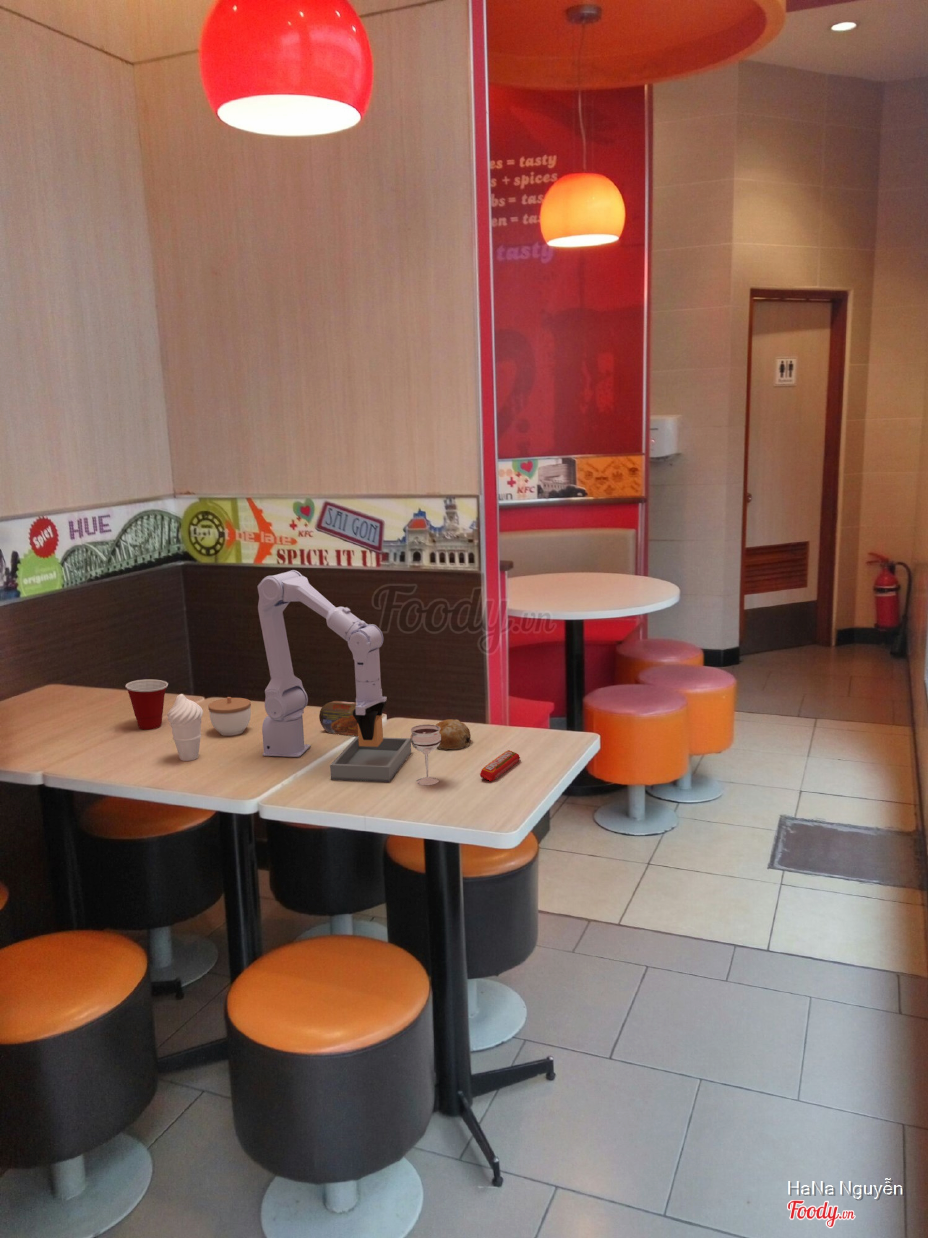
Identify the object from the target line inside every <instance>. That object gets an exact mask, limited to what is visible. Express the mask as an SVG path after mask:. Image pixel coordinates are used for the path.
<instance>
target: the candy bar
mask: <svg viewBox="0 0 928 1238" xmlns="http://www.w3.org/2000/svg"><path fill="white" fill-rule="evenodd" d="M520 759H521V757H520V754H518V753H517V752H515V751H512V750H510V749H509V750H508V749H507V750H506V751H504V752H503V753H502V754H500V755H499V756H497V757H496V758H495V759H493V760H492V761H491V762H489V763H488V764H486V765H485V766H483V768H482V769H481V770H480V773H479V775H480V777H481V778H482V779H484V780H487V781H488V780H489V782H494V781H496V780H497V779H498V778H499V776H500V775H501V774H502V775H504V774H505V773H506V772H507V771H509V770H510V769H511V768H513V767H514V766H515V765H516V764H517V763H519V760H520ZM514 764H515V765H514ZM513 765H514V766H513ZM512 766H513V767H512ZM510 767H511V768H510ZM509 768H510V769H509ZM508 769H509V770H508ZM505 771H506V772H505ZM504 772H505V773H504ZM502 775H501V776H502ZM501 776H500V777H501ZM497 777H498V778H497ZM496 778H497V779H496ZM495 779H496V780H495ZM493 780H494V781H493Z"/></svg>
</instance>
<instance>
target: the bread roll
mask: <svg viewBox="0 0 928 1238" xmlns="http://www.w3.org/2000/svg"><path fill="white" fill-rule="evenodd" d="M435 725H436V726H439V727H440V728H441V729H440V731H439V733H440V734H441V742H440V745H439V746H438V747H437V748H436V749H438V750H442V751H447V750H449V751H450V750H453V751H454V750H460V749H464V748H468V747H469V746H470V742H471V735H472V734H471V731H470V729H469V727H468V726H467V725H466V724H465V723H464V722H462V721H461V720H459V719H451V718H450V719H449V718H448V719H444V720H442V721H441V720H440V721H439V722H438V723H436V724H435Z"/></svg>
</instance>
